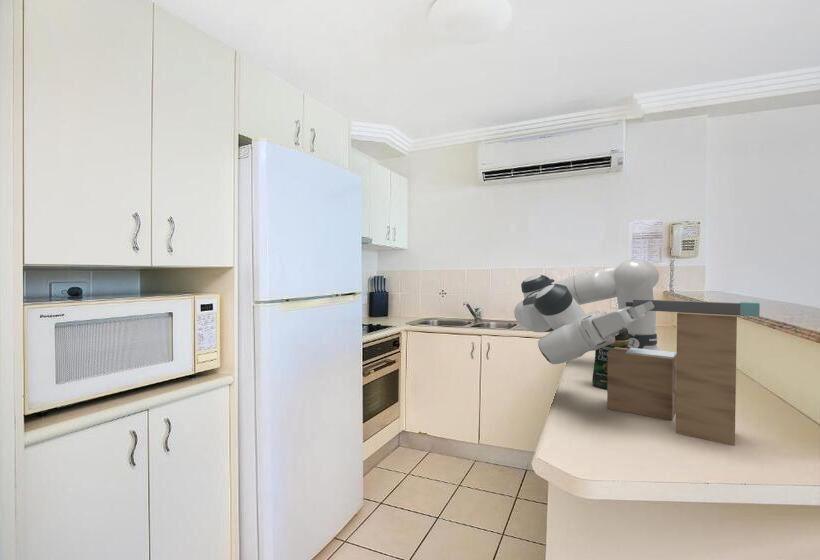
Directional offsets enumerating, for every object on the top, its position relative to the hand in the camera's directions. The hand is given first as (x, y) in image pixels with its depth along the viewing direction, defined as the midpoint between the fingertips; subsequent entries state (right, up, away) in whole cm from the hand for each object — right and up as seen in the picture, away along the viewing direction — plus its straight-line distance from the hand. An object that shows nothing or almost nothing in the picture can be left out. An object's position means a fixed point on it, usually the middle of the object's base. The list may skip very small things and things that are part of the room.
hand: (654, 303), depth 93 cm
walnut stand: (+4, -28, +2) cm, 28 cm away
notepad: (+4, -13, +8) cm, 15 cm away
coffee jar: (+4, -27, +29) cm, 40 cm away
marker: (+5, -2, -4) cm, 7 cm away
